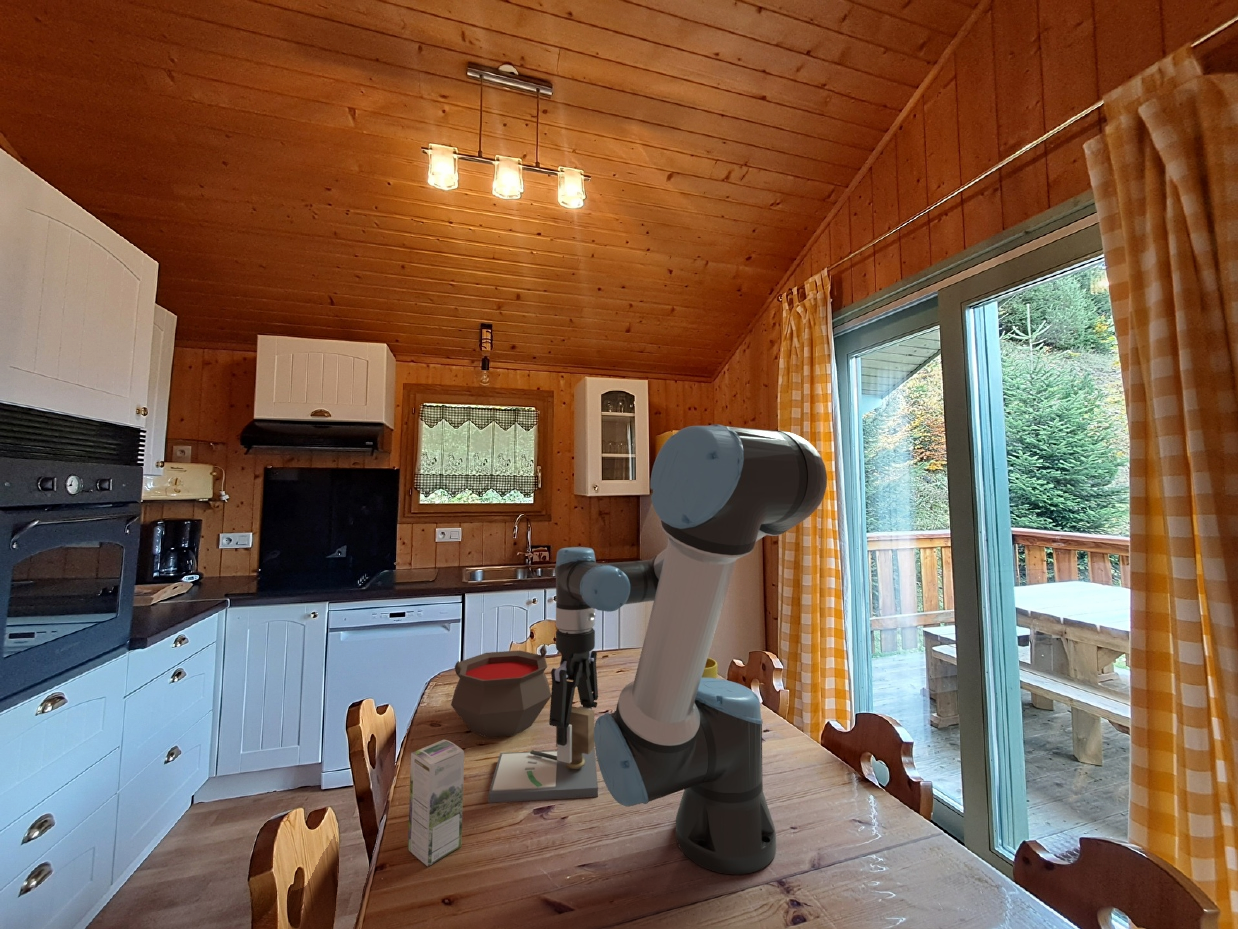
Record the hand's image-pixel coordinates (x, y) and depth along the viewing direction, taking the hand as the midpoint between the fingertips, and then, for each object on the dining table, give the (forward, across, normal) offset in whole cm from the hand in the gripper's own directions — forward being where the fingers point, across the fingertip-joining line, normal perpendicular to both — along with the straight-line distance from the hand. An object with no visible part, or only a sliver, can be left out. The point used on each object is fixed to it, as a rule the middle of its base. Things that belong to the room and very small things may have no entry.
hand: (575, 751), depth 96 cm
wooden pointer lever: (+2, 0, +3) cm, 4 cm away
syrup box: (+5, -26, +9) cm, 28 cm away
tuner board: (+5, -3, +5) cm, 7 cm away
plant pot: (+5, +45, -11) cm, 46 cm away
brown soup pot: (+5, +12, +27) cm, 30 cm away
